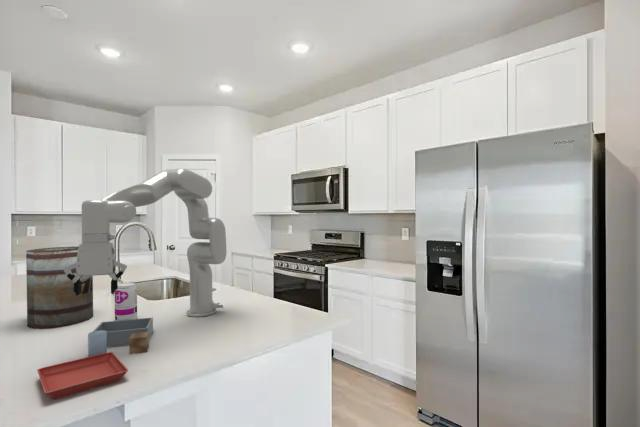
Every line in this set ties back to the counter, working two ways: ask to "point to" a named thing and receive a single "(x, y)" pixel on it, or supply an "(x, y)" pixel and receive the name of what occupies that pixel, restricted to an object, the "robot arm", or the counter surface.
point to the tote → (125, 330)
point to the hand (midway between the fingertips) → (96, 293)
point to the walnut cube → (139, 342)
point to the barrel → (55, 289)
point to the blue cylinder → (97, 343)
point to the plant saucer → (81, 375)
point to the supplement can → (126, 302)
